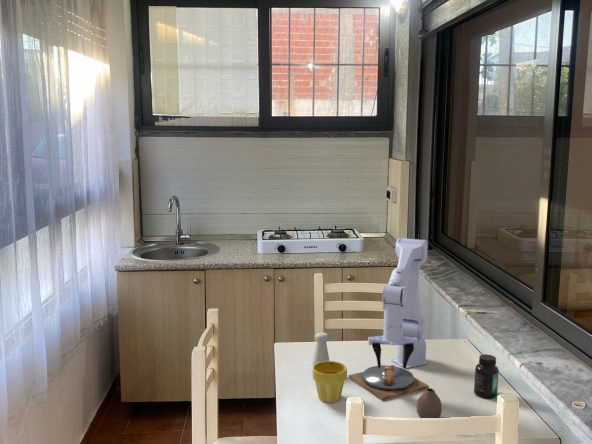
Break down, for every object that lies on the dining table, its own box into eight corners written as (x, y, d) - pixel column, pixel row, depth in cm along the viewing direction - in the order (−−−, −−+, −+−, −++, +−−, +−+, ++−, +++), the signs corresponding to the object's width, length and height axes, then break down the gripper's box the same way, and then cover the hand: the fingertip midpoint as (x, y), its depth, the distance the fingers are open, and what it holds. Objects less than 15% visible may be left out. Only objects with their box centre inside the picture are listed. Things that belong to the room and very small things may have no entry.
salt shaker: (328, 375, 196) (329, 337, 194) (311, 373, 197) (311, 336, 195) (330, 368, 202) (331, 331, 200) (314, 366, 203) (314, 329, 201)
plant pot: (304, 396, 181) (305, 366, 179) (329, 387, 187) (329, 357, 186) (329, 409, 173) (329, 377, 171) (353, 398, 180) (354, 368, 178)
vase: (413, 413, 171) (414, 384, 170) (436, 412, 172) (438, 384, 170) (420, 425, 164) (421, 395, 163) (444, 424, 165) (446, 395, 163)
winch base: (393, 367, 203) (393, 364, 202) (428, 388, 187) (428, 385, 187) (348, 378, 194) (348, 375, 194) (382, 400, 179) (382, 397, 178)
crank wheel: (363, 367, 199) (363, 348, 198) (412, 370, 197) (413, 351, 196) (362, 388, 184) (362, 368, 182) (415, 392, 182) (416, 371, 180)
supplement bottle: (500, 399, 180) (502, 361, 178) (477, 399, 180) (479, 361, 178) (492, 389, 187) (495, 353, 185) (470, 389, 187) (473, 352, 185)
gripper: (370, 328, 177) (369, 371, 179) (419, 329, 176) (417, 372, 179) (368, 320, 184) (366, 362, 186) (415, 321, 183) (413, 363, 186)
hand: (391, 366), depth 183 cm, fingers open, 7 cm apart
